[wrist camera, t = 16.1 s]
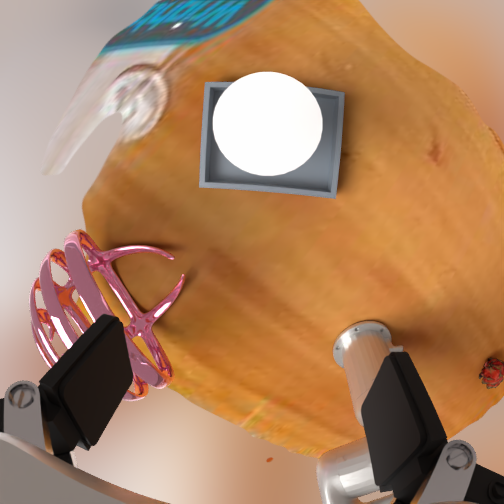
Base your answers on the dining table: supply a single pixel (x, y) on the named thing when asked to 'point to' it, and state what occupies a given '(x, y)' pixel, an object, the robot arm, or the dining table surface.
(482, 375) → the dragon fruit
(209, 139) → the tray
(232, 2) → the dining table surface
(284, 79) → the cylindrical container
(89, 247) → the spiral basket
